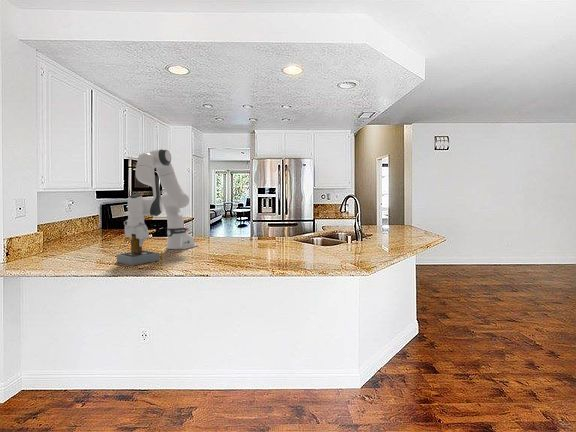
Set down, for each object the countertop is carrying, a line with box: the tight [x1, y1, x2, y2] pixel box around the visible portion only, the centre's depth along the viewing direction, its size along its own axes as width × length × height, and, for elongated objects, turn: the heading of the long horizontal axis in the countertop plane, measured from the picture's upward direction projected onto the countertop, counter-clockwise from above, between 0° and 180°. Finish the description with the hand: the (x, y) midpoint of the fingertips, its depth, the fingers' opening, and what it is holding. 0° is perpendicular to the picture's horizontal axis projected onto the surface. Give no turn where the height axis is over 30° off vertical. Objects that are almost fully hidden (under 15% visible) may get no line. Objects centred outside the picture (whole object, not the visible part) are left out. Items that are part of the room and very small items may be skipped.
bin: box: [116, 249, 160, 267], centre depth 254 cm, size 18×17×5 cm
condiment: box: [129, 234, 146, 255], centre depth 252 cm, size 7×8×12 cm
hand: (137, 245), depth 253 cm, fingers closed on condiment, 6 cm apart
